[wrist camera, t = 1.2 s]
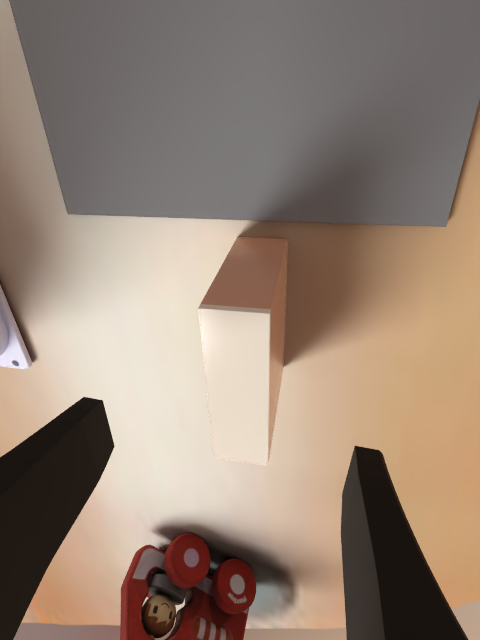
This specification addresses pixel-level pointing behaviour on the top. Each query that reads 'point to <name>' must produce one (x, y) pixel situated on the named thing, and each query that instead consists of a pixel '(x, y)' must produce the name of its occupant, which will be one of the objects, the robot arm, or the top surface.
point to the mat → (256, 106)
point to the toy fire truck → (185, 594)
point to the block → (245, 347)
